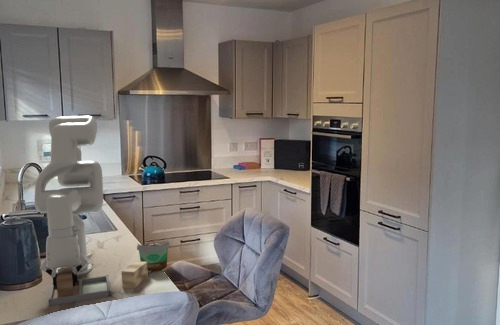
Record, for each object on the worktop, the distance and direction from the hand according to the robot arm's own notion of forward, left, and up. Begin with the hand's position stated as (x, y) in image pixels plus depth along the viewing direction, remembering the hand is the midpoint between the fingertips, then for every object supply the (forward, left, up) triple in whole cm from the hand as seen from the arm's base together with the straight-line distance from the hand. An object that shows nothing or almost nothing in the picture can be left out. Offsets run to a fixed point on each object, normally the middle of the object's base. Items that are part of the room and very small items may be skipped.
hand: (65, 285), depth 148 cm
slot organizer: (-2, +4, -3) cm, 5 cm away
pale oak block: (-13, +18, -3) cm, 23 cm away
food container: (-26, +20, -3) cm, 33 cm away
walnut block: (0, 0, -2) cm, 2 cm away
